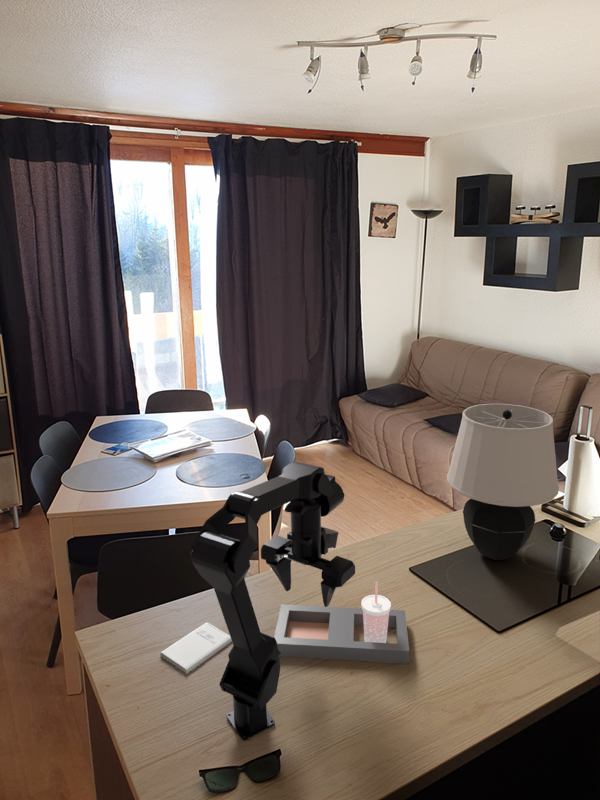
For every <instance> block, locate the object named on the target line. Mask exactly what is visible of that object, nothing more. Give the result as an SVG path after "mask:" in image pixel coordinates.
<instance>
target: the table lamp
mask: <svg viewBox="0 0 600 800" xmlns="http://www.w3.org/2000/svg"><path fill="white" fill-rule="evenodd" d="M556 458H557V457H556V447H555V437H554V418H553V416H552V415H550V414H548V413H547V412H545V411H542V410H540V409H537V408H533V407H530V406H525V405H519V404H509V403H484V404H483V403H482V404H476V405H473V406H472V405H471V406H469V407H467V408H465V409H464V410H463V411H462V418H461V421H460V425H459V430H458V433H457V436H456V440H455V445H454V448H453V453H452V458H451V460H450V461H451V462H450V464H449V469H448V472H447V474H446V479H447V483H448V484H449V486H450V487H451V489H453V490H454V491H456V492H457V493H458V494H459V495H462V496H464V497H466V498H469V499H467V501H465V503H464V506H463V509H462V517H463V523H464V527H465V530H466V532H467V533H466V534H467V535H468V537H469V539H470V541H471V542H472V544H473V545H474V546H475V548H476V550H477V551H478V552H479V553H480V554H481V555H483V557H485V558H488V559H489V560H490V559H491V560H493V561H505V560H506V561H507V559H511V558H512V557H513V556H515V555H516V554H517V553H518V552H519V551H520V550H521V549H522V548H523V546H525V544H526V543H527V541H528V540H529V538H530V537H531V534H532V532H533V530H534V526H535V523H536V515H535V511H534V509H533V508H532V507H533V506H538V505H544V504H546V503H549V502H550V501H553V500H554V499H555V498H556V497H557V496H558V494H559V490H560V486H559V482H558V481H559V480H558V472H557V460H556Z"/></svg>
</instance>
